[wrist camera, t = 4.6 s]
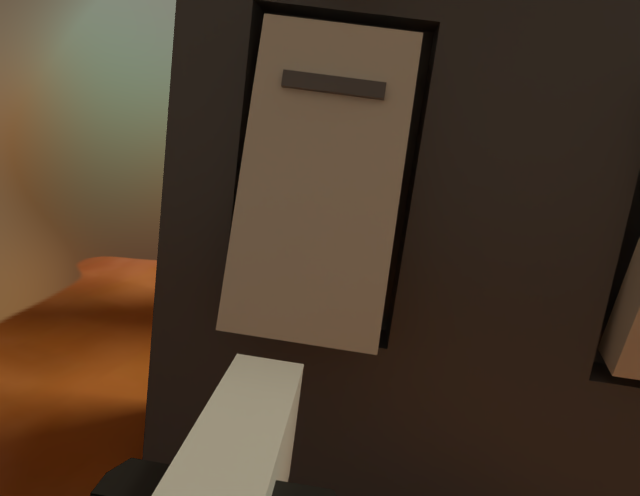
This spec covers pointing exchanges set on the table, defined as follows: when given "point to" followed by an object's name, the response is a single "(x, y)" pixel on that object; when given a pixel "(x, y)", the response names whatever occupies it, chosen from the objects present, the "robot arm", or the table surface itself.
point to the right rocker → (624, 326)
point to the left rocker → (320, 183)
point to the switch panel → (433, 253)
